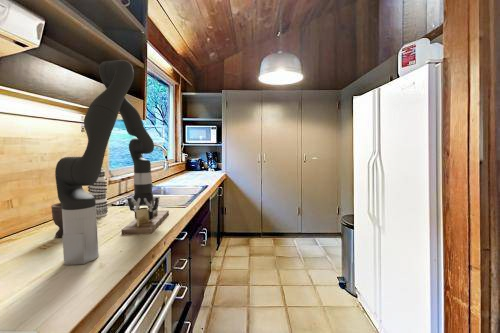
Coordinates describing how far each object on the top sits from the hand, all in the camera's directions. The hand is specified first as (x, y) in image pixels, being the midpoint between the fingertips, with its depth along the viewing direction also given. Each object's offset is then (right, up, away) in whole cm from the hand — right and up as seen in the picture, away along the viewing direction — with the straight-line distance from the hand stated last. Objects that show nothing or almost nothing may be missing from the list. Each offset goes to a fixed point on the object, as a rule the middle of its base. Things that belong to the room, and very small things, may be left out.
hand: (144, 219), depth 123 cm
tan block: (0, -1, -3) cm, 3 cm away
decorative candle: (-33, -2, +21) cm, 39 cm away
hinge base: (0, -3, +5) cm, 6 cm away
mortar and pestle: (-26, -5, -11) cm, 29 cm away
